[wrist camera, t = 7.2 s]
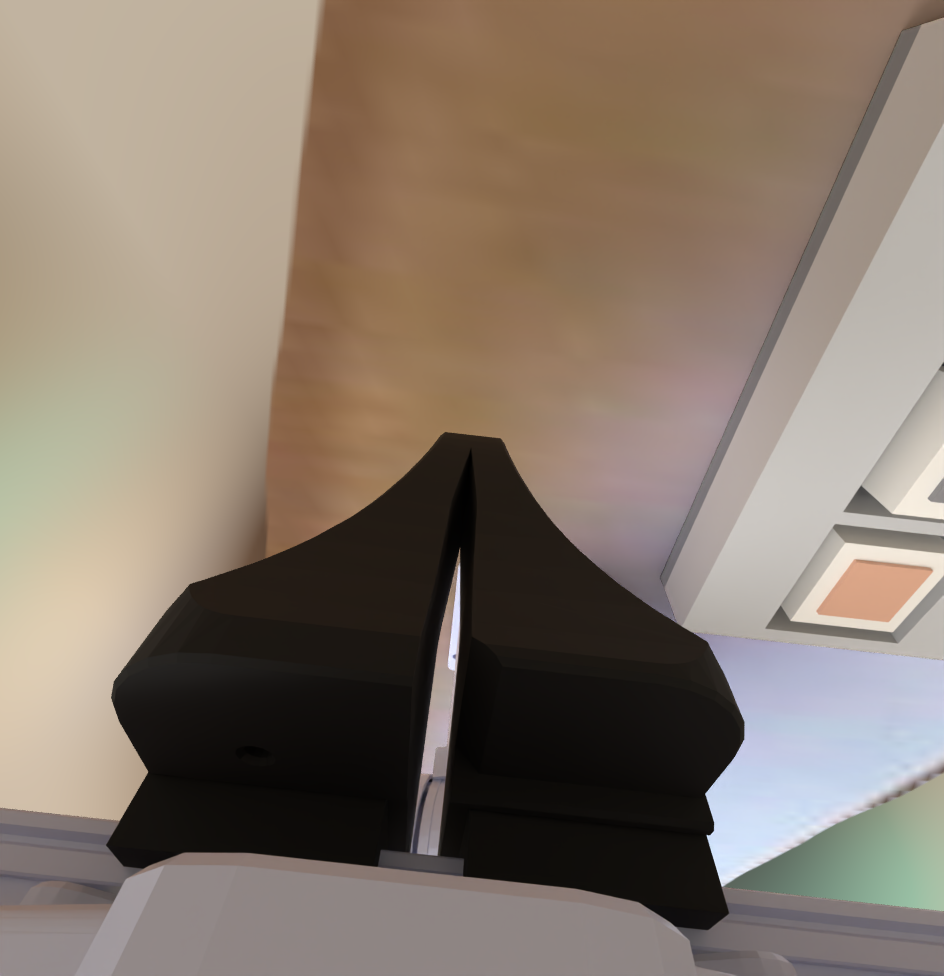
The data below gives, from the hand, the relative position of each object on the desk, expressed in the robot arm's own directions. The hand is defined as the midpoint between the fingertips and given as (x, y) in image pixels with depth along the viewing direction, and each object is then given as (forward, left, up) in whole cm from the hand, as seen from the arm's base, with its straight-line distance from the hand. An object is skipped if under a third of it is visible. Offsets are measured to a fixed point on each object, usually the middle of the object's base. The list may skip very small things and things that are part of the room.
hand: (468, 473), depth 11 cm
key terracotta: (-8, -18, -9) cm, 22 cm away
